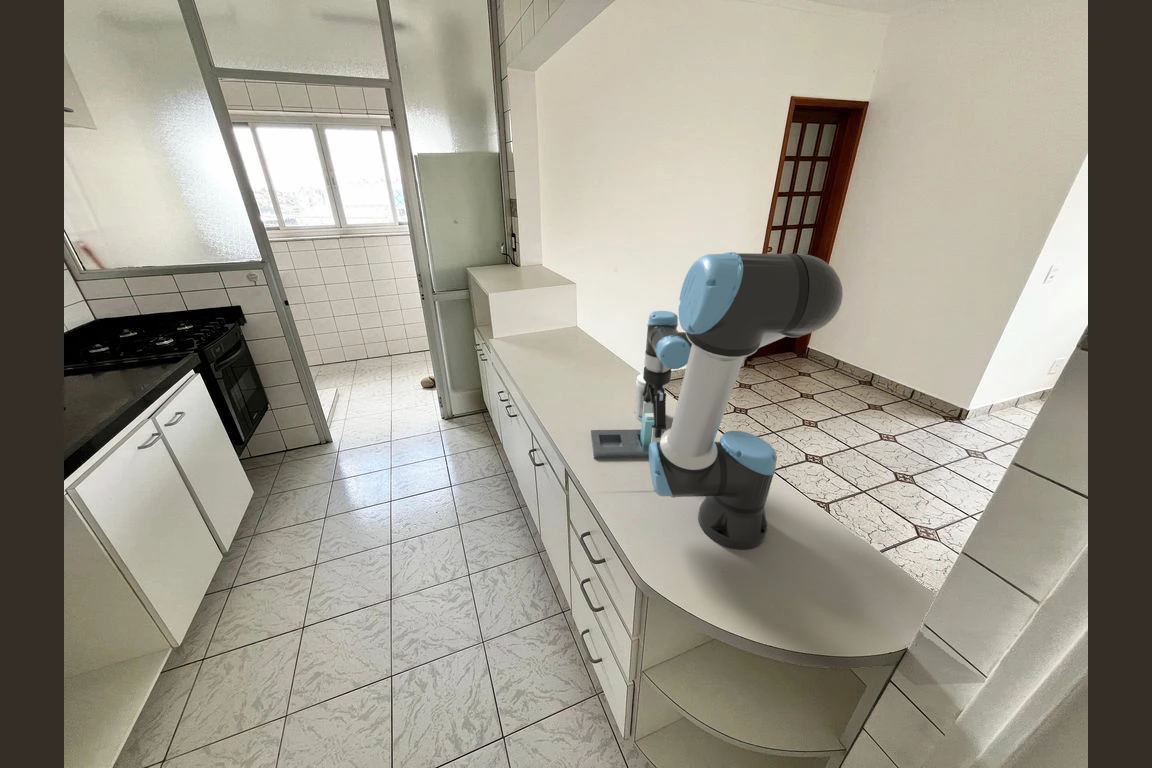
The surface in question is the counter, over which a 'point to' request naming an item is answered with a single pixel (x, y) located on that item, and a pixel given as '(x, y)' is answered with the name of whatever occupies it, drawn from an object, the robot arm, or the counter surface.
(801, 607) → the counter surface
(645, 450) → the grey socket board
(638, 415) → the supplement tub
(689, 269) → the robot arm
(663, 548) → the counter surface
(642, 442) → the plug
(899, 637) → the counter surface
